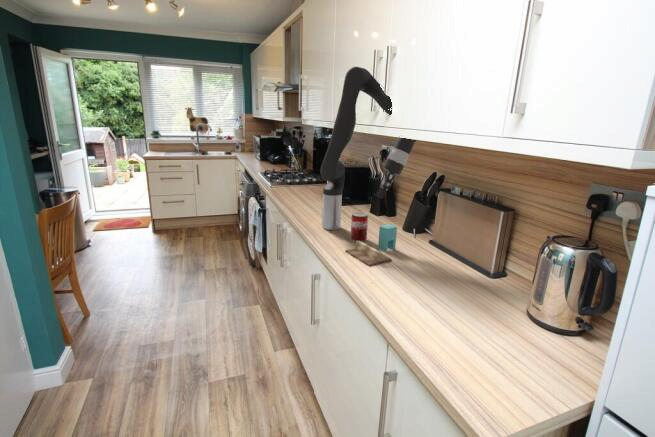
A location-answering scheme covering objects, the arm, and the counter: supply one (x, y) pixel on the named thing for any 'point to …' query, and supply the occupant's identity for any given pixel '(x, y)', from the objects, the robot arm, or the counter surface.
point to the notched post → (387, 237)
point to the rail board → (368, 254)
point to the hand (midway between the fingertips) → (379, 197)
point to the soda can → (359, 226)
